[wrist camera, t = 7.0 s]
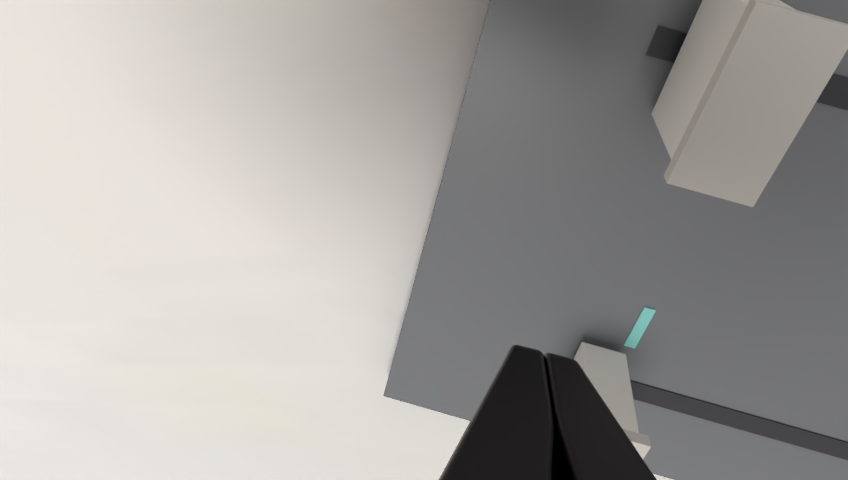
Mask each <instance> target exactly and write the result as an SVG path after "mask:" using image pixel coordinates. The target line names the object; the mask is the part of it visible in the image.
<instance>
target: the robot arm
mask: <svg viewBox="0 0 848 480" xmlns="http://www.w3.org/2000/svg"><path fill="white" fill-rule="evenodd" d="M439 480H656V478H655V477H654V475H653V474H652V472H651V471H650V469H649V468H648V466H647V465H646V463H645V462H644V460H643V459H642V457H641V456H640V454H639V453H638V451H637V450H636V448H635V447H634V445H633V444H632V442H631V441H630V439H629V438H628V436H627V435H626V433H625V432H624V430H623V429H622V427H621V426H620V424H619V423H618V421H617V420H616V418H615V417H614V415H613V414H612V412H611V411H610V409H609V408H608V407H607V405H606V404H605V402H604V401H603V399H602V398H601V396H600V395H599V393H598V392H597V390H596V389H595V387H594V386H593V384H592V383H591V381H590V380H589V378H588V377H587V375H586V374H585V372H584V371H583V369H582V368H581V366H580V365H579V363H578V362H577V361H576V360H574V359H572V358H569V357H565V356H561V355H557V354H553V353H546V354H544V355H543V353H542V352H541V351H540V350H537V349H533V348H529V347H525V346H521V345H516V344H515V345H513V346H511V348H510V349H509V351H508V353H507V355H506V357H505V358H504V360H503V362H502V364H501V366H500V368H499V369H498V371H497V373H496V375H495V377H494V379H493V381H492V382H491V384H490V386H489V388H488V390H487V392H486V394H485V395H484V397H483V399H482V401H481V403H480V405H479V406H478V408H477V410H476V412H475V414H474V416H473V418H472V419H471V421H470V423H469V425H468V427H467V429H466V430H465V432H464V434H463V436H462V438H461V440H460V442H459V443H458V445H457V447H456V449H455V451H454V453H453V454H452V456H451V458H450V460H449V462H448V464H447V466H446V467H445V469H444V471H443V473H442V475H441V477H440V479H439Z"/></svg>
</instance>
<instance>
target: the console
mask: <svg viewBox="0 0 848 480" xmlns="http://www.w3.org/2000/svg"><path fill="white" fill-rule="evenodd" d="M780 1H782V2H784V3H785V4H787V5H789V6H790V7H792V8H794V9H796V10H798V11H802V12H805V13H809V14H813V15H816V16H820V17H824V18H827V19H831V20H835V21H838V22H842V23H846V24H848V0H780ZM701 2H702V0H490V3H489V6H488V10H487V14H486V18H485V21H484V25H483V29H482V32H481V36H480V40H479V44H478V47H477V51H476V55H475V58H474V62H473V66H472V69H471V73H470V77H469V81H468V84H467V88H466V92H465V95H464V99H463V103H462V107H461V110H460V114H459V118H458V121H457V125H456V129H455V133H454V136H453V140H452V144H451V147H450V151H449V155H448V158H447V162H446V166H445V170H444V173H443V177H442V181H441V184H440V188H439V192H438V196H437V199H436V203H435V207H434V210H433V214H432V218H431V222H430V225H429V229H428V233H427V236H426V240H425V244H424V247H423V251H422V255H421V259H420V262H419V266H418V270H417V273H416V277H415V281H414V285H413V288H412V292H411V296H410V299H409V303H408V307H407V311H406V314H405V318H404V322H403V325H402V329H401V333H400V336H399V340H398V344H397V348H396V351H395V355H394V359H393V362H392V366H391V370H390V374H389V377H388V381H387V385H386V388H385V392H384V396H386V397H389V398H393V399H396V400H400V401H403V402H407V403H410V404H414V405H417V406H421V407H424V408H427V409H431V410H434V411H438V412H441V413H445V414H448V415H452V416H455V417H459V418H462V419H466V420H469V421H471V419H472V418H473V416H474V414H475V412H476V410H477V408H478V406H479V405H480V403H481V401H482V399H483V397H484V395H485V394H486V392H487V390H488V388H489V386H490V384H491V382H492V381H493V379H494V377H495V375H496V373H497V371H498V369H499V368H500V366H501V364H502V362H503V360H504V358H505V357H506V355H507V353H508V351H509V349H510V348H511V346H513V345H515V344H516V345H521V346H525V347H529V348H533V349H537V350H540V351H541V352H542V353H543V355H544V354H546V353H553V354H557V355H561V356H565V357H569V358H572V359H574V357H575V355H576V353H577V351H578V349H579V347H580V345H581V342H585V343H588V344H592V345H595V346H599V347H602V348H606V349H609V350H613V351H616V352H620V353H623V354H626V358H627V364H628V370H629V376H630V382H631V388H632V394H633V400H634V406H635V412H636V418H637V424H638V430H639V433H640V434H643V435H647V436H649V438H650V443H651V448H650V449H649V451H648V452H647V454H646V455H645V457H644V459H643V460H644V462H645V463H646V465H647V466H648V468H649V469H650V471H651V472H652V473H653V474H657V475H660V476H664V477H667V478H671V479H674V480H848V49H847V51H846V53H845V54H844V56H843V58H842V59H841V61H840V63H839V64H838V66H837V68H836V69H835V71H834V73H833V74H832V76H831V78H830V79H829V81H828V83H827V84H826V86H825V88H824V90H823V91H822V93H821V95H820V96H819V98H818V100H817V101H816V103H815V105H814V106H813V108H812V110H811V111H810V113H809V115H808V116H807V118H806V120H805V121H804V123H803V125H802V126H801V128H800V130H799V131H798V133H797V135H796V136H795V138H794V140H793V141H792V143H791V145H790V146H789V148H788V150H787V151H786V153H785V155H784V156H783V158H782V160H781V161H780V163H779V165H778V166H777V168H776V170H775V171H774V173H773V175H772V176H771V178H770V180H769V181H768V183H767V185H766V186H765V188H764V190H763V191H762V193H761V195H760V196H759V198H758V200H757V201H756V203H755V205H754V206H753V207H750V206H746V205H743V204H739V203H736V202H732V201H729V200H725V199H721V198H718V197H714V196H711V195H707V194H703V193H700V192H696V191H693V190H689V189H685V188H682V187H678V186H675V185H671V184H667V183H666V181H665V178H664V174H665V172H666V170H667V168H668V166H669V164H670V162H671V158H670V156H669V153H668V151H667V149H666V147H665V144H664V142H663V140H662V137H661V135H660V133H659V130H658V128H657V126H656V123H655V121H654V119H653V116H652V114H651V113H652V111H653V109H654V107H655V105H656V102H657V100H658V98H659V96H660V93H661V91H662V89H663V87H664V85H665V82H666V80H667V78H668V76H669V73H670V71H671V69H672V67H673V65H674V62H675V60H676V58H677V56H678V53H679V51H680V49H681V47H682V45H683V42H684V40H685V38H686V36H687V33H688V31H689V29H690V27H691V25H692V22H693V20H694V18H695V16H696V13H697V11H698V9H699V7H700V5H701Z"/></svg>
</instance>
